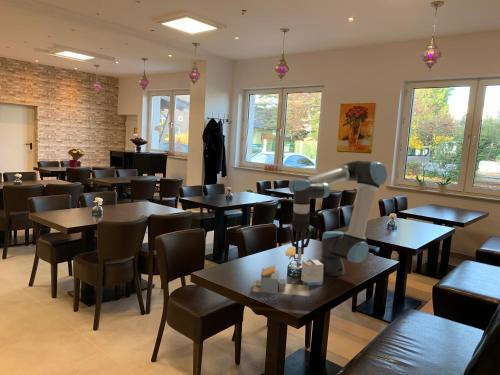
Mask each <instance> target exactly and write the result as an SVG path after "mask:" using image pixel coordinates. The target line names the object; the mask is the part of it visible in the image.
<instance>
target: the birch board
mask: <svg viewBox="0 0 500 375" xmlns="http://www.w3.org/2000/svg"><path fill="white" fill-rule="evenodd" d="M256 281H257V280H255V281H254V282H253V286H252V289H251V292H255V293H256V292H257V293H261V292H260V290H261V287H256ZM266 293H267V294H273V293H272V292H265V294H266ZM276 294H279V295H280V294H281V295H290V296H291V295H294V296H302V297H303V296H305V297H311V296H310V288H309V286H308V285H307V284H306V285H305V284H291V283H286V286H285V291H279V288H278V292H277V293H276Z"/></svg>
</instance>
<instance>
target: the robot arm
mask: <svg viewBox="0 0 500 375" xmlns="http://www.w3.org/2000/svg"><path fill="white" fill-rule="evenodd" d="M387 180H388V171H387V168H386V166H385V165H384V164H383V163H382V162H379V161H369V160H368V161H367V160H354V161H349V162H347V163H343V164H340V165H338V166H337V167H336V168H333V169H330V170H327V171H323V172H321V173H317V174H314V175H311V176H308V177H305V178H297V179H295V178H294V179H291V180H290V181H289V183H288V190H289V192H290V193H291V194H293V207H292V208H293V209H292V210H293V213H292V222H291V224H290V225H287V226H286V229H287V230H288V232H289V236H290V237H289V239H290V241H291V245H292V246H291V247H293V248H295V255H297V263H298V262H299V263H302V255H304V254H305V248H308V247H309V244H310V241H311V236H312V233H313V232H314V230H315V228H314V226H312V225H311V223H310V208H311V207H310V206H311V204H310V203H311V200H312V199H315V200H316V199H324V198H328V197H329V195H330V193H331V185H335V184H337V183H340V182H342V183H346V182H356V185H357V187H358V189H357V194H356V197H355V203H354V205H353V209H352V214H351V218H350V220H349V226H348V230H347V231H340V230H339V231H338V230H331V231H324V232H323V234H322V239H321V254H320V259H319V260H318V261H319V262H321V263H322V264H324V266H323V276H325V275H326V276H329V277H330V276H331V277H340V276H343V275H344V274H345V266H344V262H343V260H347V261H349V262H351V263H361V262H363V261H364V260H365V259H366V257H367V256H368V253H369V245H368V243H367V242H366V241H367V237H366V235H365V233H366V229H367V225H368V222H369V218H370V213H371V209H372V205H373V201H374V197H375V195H376V194H375V193H376V191H378V190H380V186H382V185H384V184H385V183H386V181H387ZM293 229H294V231H296V233H295V240H294V235H293V234H294V233H293V231H292V230H293ZM307 230H308V233H307V237H306V240H305V233H306V232H307ZM300 232H301V239H300V238H299V237H300ZM300 240H301V242H300V244H299V241H300ZM299 245H300V246H299Z"/></svg>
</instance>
